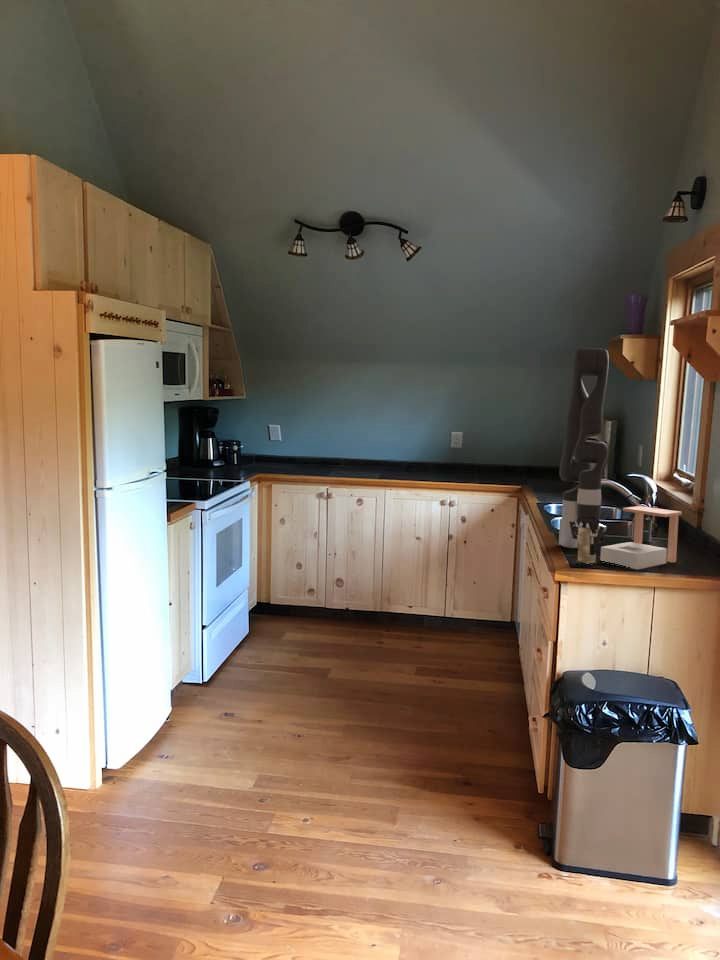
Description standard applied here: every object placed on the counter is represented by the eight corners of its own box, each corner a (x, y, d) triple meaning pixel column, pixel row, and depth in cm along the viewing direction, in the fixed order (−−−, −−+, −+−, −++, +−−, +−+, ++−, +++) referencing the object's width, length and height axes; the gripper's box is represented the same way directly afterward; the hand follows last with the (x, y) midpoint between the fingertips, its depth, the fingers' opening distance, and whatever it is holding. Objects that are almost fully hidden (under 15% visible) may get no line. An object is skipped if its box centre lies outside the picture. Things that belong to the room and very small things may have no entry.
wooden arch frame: (620, 556, 254) (622, 508, 252) (636, 553, 259) (639, 505, 258) (662, 565, 241) (665, 514, 239) (679, 561, 246) (681, 511, 245)
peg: (577, 562, 244) (579, 527, 242) (585, 561, 246) (586, 526, 245) (587, 565, 241) (589, 528, 239) (595, 563, 243) (596, 527, 242)
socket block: (600, 561, 246) (600, 546, 245) (629, 556, 255) (629, 541, 255) (637, 569, 235) (638, 554, 234) (666, 563, 244) (666, 548, 243)
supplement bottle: (644, 543, 278) (645, 512, 277) (628, 540, 283) (629, 510, 282) (654, 541, 282) (656, 510, 281) (638, 539, 287) (640, 508, 286)
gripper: (564, 500, 245) (562, 551, 247) (600, 505, 233) (597, 558, 235) (578, 499, 249) (576, 548, 251) (614, 504, 238) (612, 556, 239)
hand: (586, 553), depth 243 cm, fingers closed on peg, 4 cm apart
